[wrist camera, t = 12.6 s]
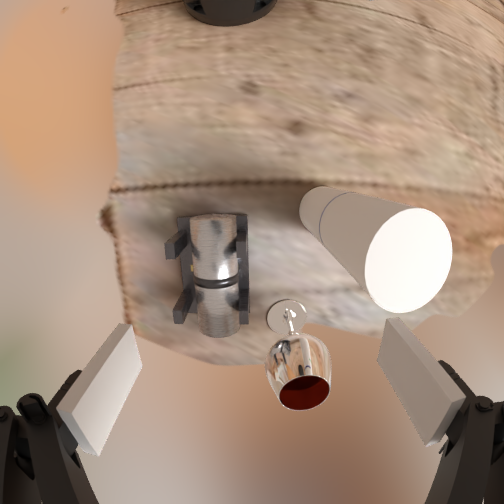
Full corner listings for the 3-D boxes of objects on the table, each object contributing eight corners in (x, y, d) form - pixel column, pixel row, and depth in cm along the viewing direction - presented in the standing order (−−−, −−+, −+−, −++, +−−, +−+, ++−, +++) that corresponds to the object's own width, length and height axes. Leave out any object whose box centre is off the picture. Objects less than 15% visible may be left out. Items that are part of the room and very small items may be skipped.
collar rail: (178, 217, 40) (162, 227, 33) (247, 214, 40) (246, 224, 33) (187, 309, 44) (176, 336, 37) (249, 309, 44) (249, 336, 37)
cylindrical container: (298, 186, 39) (367, 207, 15) (345, 186, 39) (456, 209, 15) (299, 235, 41) (359, 318, 17) (345, 233, 41) (443, 306, 17)
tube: (236, 314, 44) (244, 334, 38) (197, 319, 43) (200, 340, 37) (232, 212, 40) (241, 219, 34) (188, 215, 38) (189, 222, 33)
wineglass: (267, 290, 44) (276, 362, 26) (317, 298, 44) (351, 368, 27) (257, 334, 46) (260, 414, 28) (304, 340, 46) (326, 418, 29)
